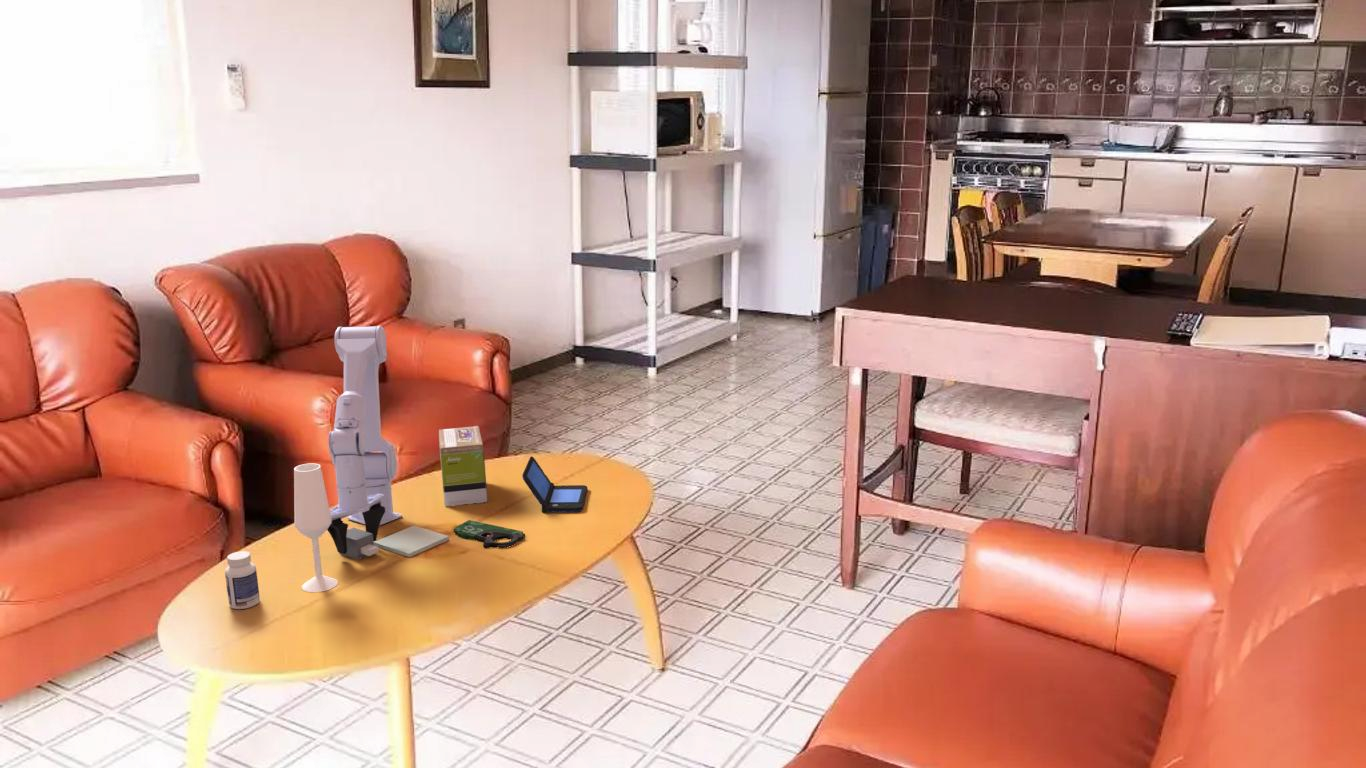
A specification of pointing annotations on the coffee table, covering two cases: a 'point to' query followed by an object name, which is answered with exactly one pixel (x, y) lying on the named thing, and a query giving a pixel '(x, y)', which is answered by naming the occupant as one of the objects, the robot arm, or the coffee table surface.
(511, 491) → the coffee table surface
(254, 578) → the pill bottle
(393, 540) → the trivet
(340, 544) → the robot arm
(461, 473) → the tea box
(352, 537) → the connector plug
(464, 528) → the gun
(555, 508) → the handheld game console
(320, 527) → the champagne flute
